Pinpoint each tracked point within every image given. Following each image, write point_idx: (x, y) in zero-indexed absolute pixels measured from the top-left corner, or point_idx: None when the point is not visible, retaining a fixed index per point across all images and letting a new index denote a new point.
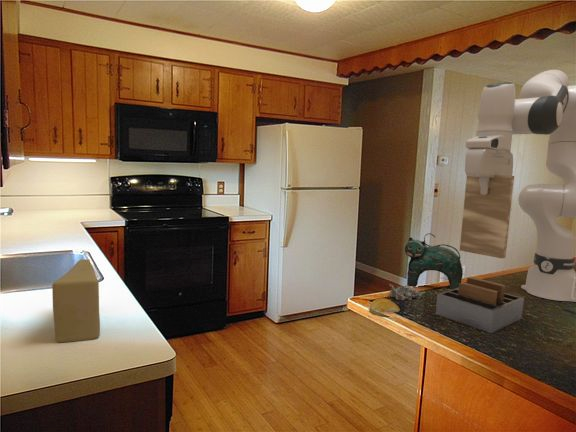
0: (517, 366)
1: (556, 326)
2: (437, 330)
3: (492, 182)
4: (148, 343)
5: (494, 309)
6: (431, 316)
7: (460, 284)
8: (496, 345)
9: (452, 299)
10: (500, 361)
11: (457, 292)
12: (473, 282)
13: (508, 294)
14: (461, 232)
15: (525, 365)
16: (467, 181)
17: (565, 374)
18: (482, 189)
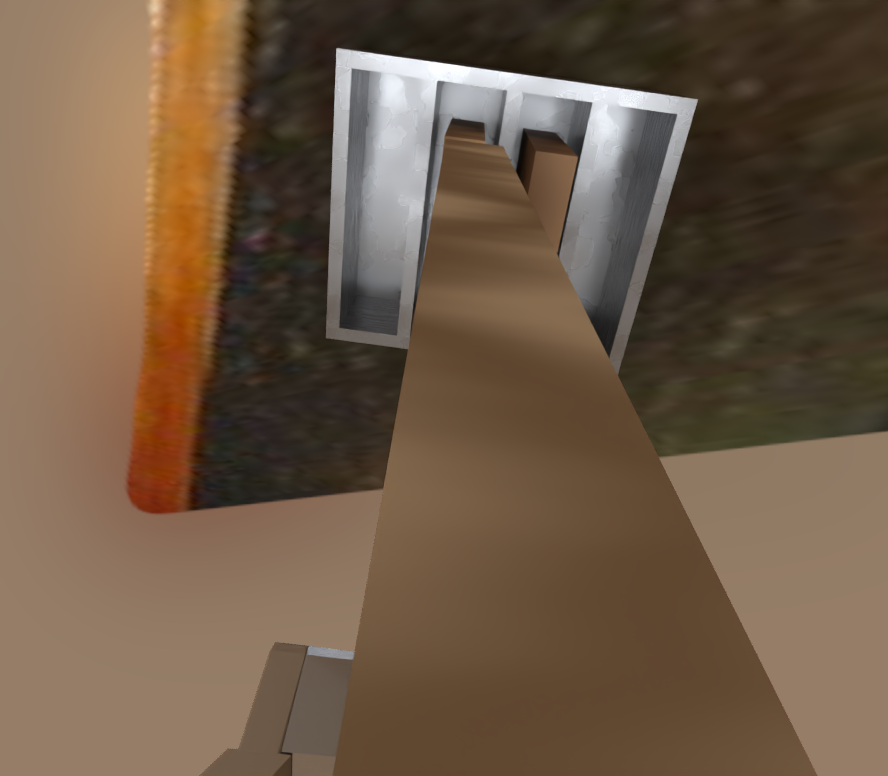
0: (220, 405)
1: (657, 420)
2: (250, 122)
3: None
4: None
5: (348, 335)
6: (379, 16)
7: (443, 144)
8: (310, 327)
9: (333, 146)
10: (208, 367)
11: (505, 99)
12: (526, 190)
13: (627, 316)
14: (441, 162)
15: (246, 418)
16: (379, 548)
17: (283, 490)
18: (249, 738)
